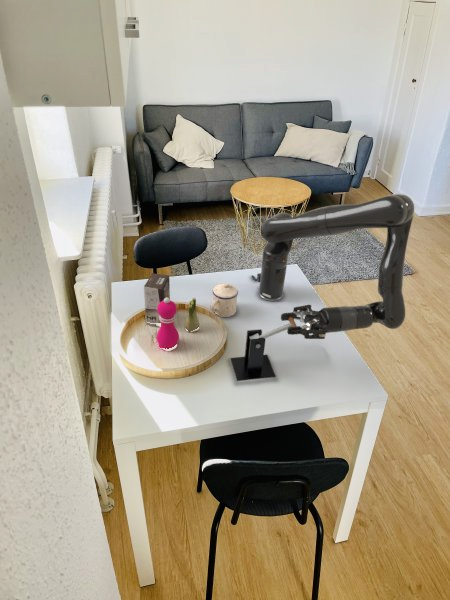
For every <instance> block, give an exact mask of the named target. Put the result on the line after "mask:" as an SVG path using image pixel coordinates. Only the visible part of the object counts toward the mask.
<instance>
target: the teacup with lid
mask: <svg viewBox="0 0 450 600" xmlns="http://www.w3.org/2000/svg"><path fill="white" fill-rule="evenodd" d="M238 294H239V290H238V288H237V287H236V286H235V285H234V284H231V283H228V282H224V283H223V282H222V283H219V284H216V285H215V286H214V287H213V289H212V302H211V304H210V311H211V312H212V313H214V312H216V313H217V314H218V315H219V316H218V315H217V316H218V317H220V318H229V317H232V316H234V315H235V313H236V312H237V304H238V303H237V302H238Z"/></svg>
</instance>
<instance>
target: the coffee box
mask: <svg viewBox="0 0 450 600" xmlns="http://www.w3.org/2000/svg"><path fill="white" fill-rule="evenodd" d="M170 286H171V285H170V275H169V274H163V273H154V272H152V273H151V274H150V276H149V277H148V278H147V280H146V282H145V284H144V285H143V293H144V295H143V296H144V311H145V313H144V314H145V325H147V326H151V327H156V326H155V325H156V324H150V323H161V321H160V320H159V314H158V312H157V307H158V304H159V303H160V302H161V301H163V300H164V299H165V298H166V297H167V298H169V299H170V300H171V290H170ZM146 322H150V323H146Z"/></svg>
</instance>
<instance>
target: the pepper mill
mask: <svg viewBox="0 0 450 600" xmlns="http://www.w3.org/2000/svg"><path fill="white" fill-rule="evenodd" d="M177 311H178V307H177V304H176V303H175V302H174V301H173V300H171V298H170V299H169V298H167V297H166V298H165V299H164V300H163V301H161V302H160V303H159V304H158V307H157V312H158V314H159V320H160V321H161V327H159V329H158V330H157V333H156V342H157V344H158V345H159V346H158V348H159V347H160V348H165V349H166V348H167V349H169V348H172V347H174V346H175V345H176V344H177V343H179V341H180V334H179V331H178V329H177V328H176V326H175V321H176V314H177ZM160 348H159V349H160Z"/></svg>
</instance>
